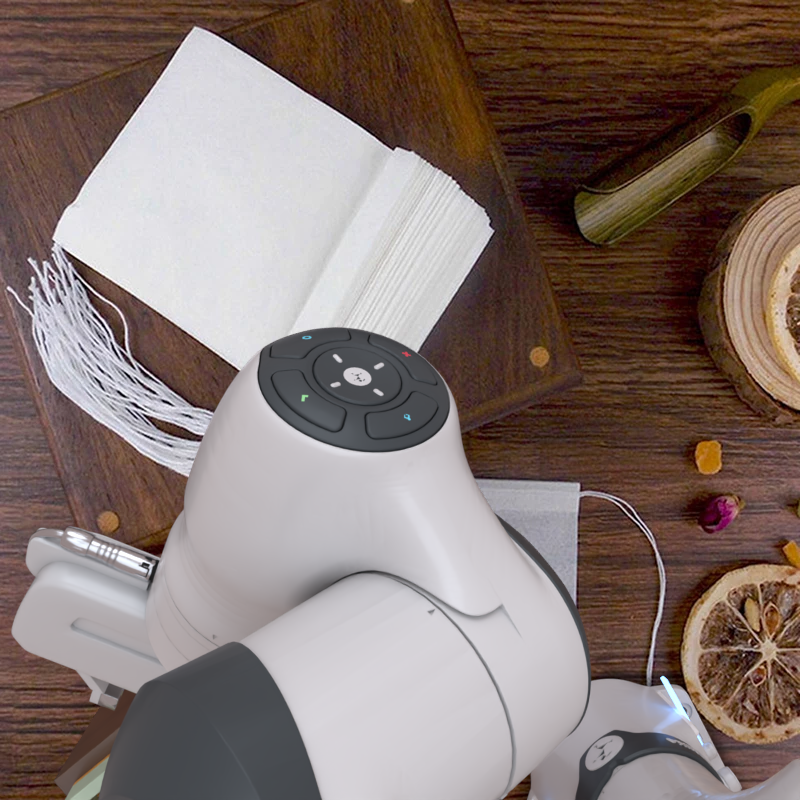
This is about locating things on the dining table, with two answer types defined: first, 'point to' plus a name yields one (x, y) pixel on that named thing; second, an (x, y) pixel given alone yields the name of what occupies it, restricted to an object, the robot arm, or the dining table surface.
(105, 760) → the socket base
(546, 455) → the dining table surface
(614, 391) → the dining table surface
